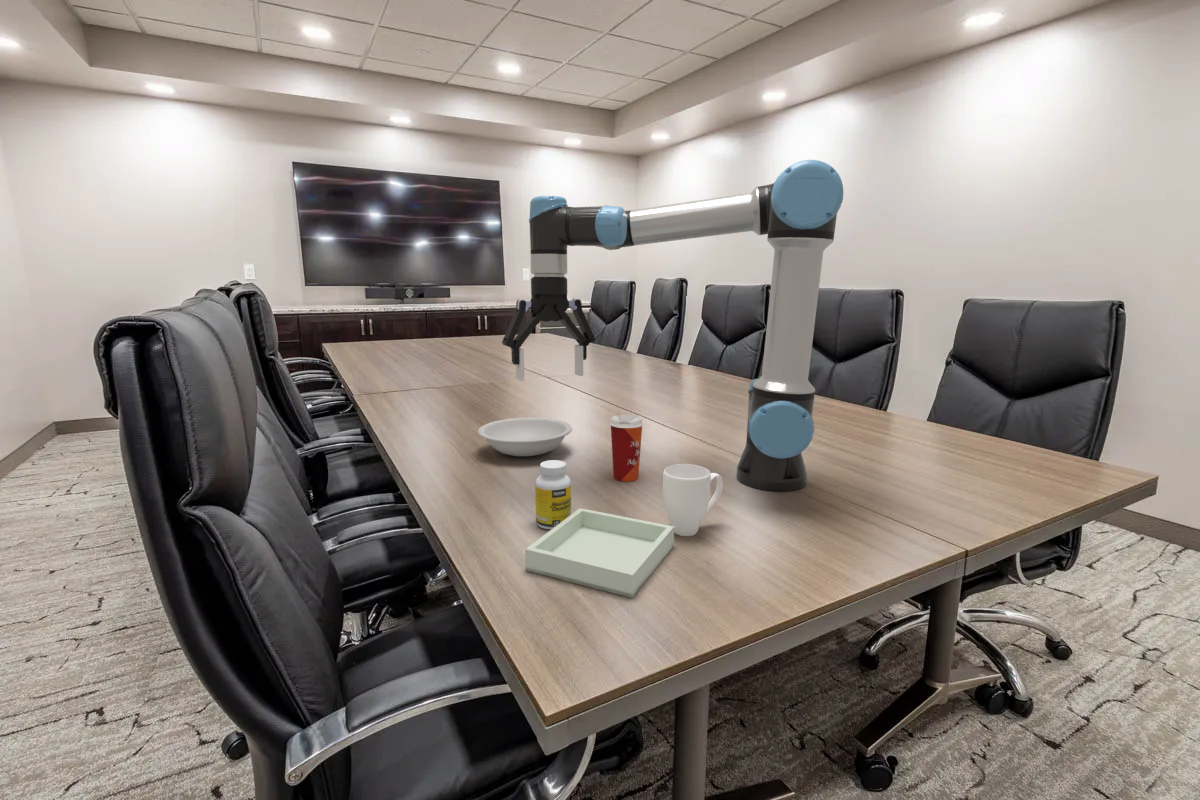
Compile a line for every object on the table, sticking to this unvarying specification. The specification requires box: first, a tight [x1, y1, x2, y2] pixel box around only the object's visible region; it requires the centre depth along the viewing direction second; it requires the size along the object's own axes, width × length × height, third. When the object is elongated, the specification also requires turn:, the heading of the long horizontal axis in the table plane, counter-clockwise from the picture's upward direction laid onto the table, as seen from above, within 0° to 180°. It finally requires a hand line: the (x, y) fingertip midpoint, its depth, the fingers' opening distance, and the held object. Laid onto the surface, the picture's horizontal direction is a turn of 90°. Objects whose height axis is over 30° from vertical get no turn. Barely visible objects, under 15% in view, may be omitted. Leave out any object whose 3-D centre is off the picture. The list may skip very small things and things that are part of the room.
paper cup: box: [608, 414, 645, 483], centre depth 130 cm, size 8×8×14 cm
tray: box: [524, 507, 675, 599], centre depth 93 cm, size 18×18×4 cm
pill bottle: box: [534, 459, 572, 531], centre depth 106 cm, size 6×6×12 cm
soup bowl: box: [477, 416, 573, 457], centre depth 149 cm, size 24×24×7 cm
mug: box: [662, 463, 724, 537], centre depth 103 cm, size 12×8×11 cm
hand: (550, 377), depth 123 cm, fingers open, 13 cm apart
